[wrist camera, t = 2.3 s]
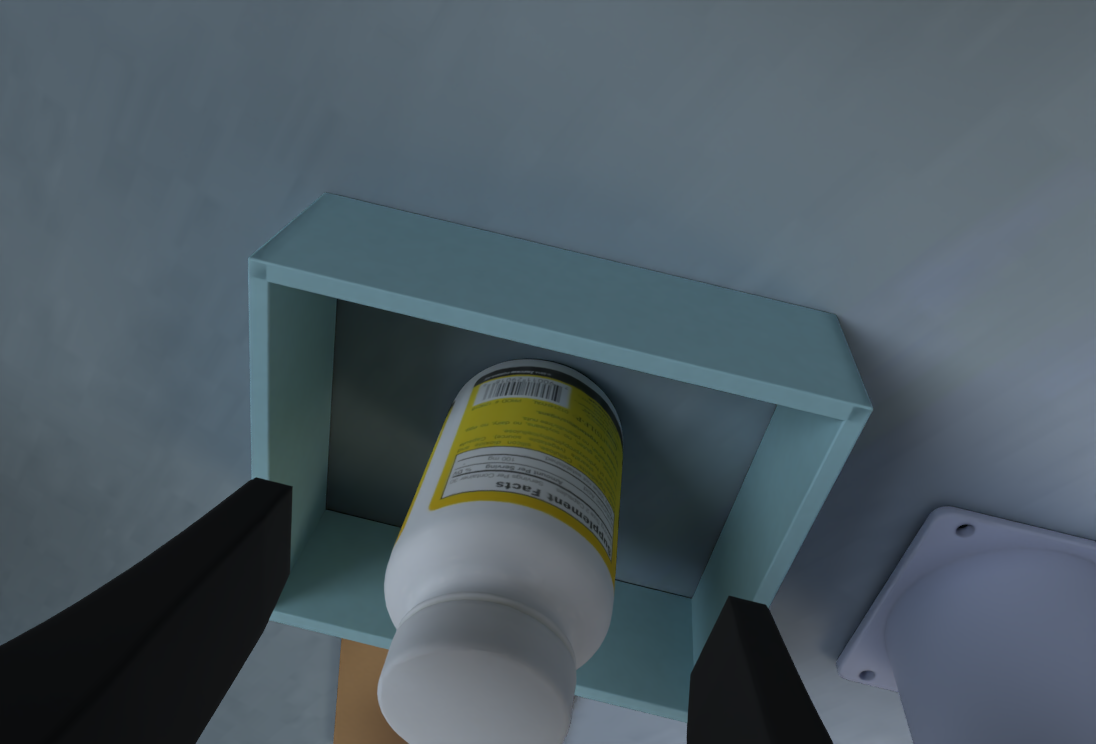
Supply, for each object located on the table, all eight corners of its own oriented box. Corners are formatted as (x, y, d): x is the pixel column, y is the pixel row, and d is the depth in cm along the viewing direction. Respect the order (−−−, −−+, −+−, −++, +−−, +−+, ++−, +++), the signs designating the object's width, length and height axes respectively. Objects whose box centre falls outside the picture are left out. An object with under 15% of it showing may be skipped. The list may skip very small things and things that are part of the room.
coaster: (576, 667, 29) (575, 675, 29) (532, 792, 34) (531, 801, 34) (346, 610, 29) (342, 618, 29) (335, 743, 34) (332, 752, 34)
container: (837, 314, 20) (874, 408, 17) (701, 611, 27) (706, 728, 23) (325, 190, 21) (246, 257, 17) (311, 515, 27) (253, 617, 23)
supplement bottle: (537, 522, 26) (474, 817, 17) (416, 417, 24) (285, 688, 16) (663, 440, 23) (660, 738, 15) (539, 318, 22) (459, 576, 13)
